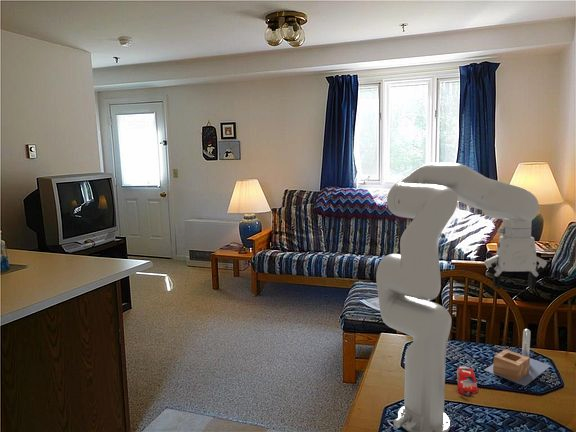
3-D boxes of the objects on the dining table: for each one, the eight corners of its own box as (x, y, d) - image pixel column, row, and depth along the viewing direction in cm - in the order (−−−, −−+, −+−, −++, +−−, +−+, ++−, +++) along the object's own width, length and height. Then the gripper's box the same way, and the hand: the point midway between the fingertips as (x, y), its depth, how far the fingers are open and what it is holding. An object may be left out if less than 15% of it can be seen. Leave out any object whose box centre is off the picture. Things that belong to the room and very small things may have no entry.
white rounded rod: (526, 364, 133) (529, 331, 132) (520, 362, 135) (522, 329, 133) (529, 362, 134) (531, 329, 133) (523, 360, 136) (525, 327, 134)
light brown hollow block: (517, 381, 124) (518, 365, 123) (493, 372, 129) (493, 356, 129) (528, 373, 128) (529, 357, 127) (504, 364, 134) (505, 349, 133)
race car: (478, 400, 118) (479, 387, 117) (457, 397, 120) (457, 384, 119) (475, 376, 130) (475, 364, 129) (455, 373, 132) (456, 361, 131)
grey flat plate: (524, 390, 122) (525, 386, 121) (483, 373, 131) (483, 369, 131) (550, 369, 133) (551, 365, 132) (511, 355, 142) (511, 351, 142)
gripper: (489, 235, 125) (487, 291, 127) (553, 234, 122) (550, 292, 125) (481, 230, 132) (480, 283, 135) (542, 229, 130) (539, 284, 132)
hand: (514, 287), depth 130 cm, fingers open, 9 cm apart
